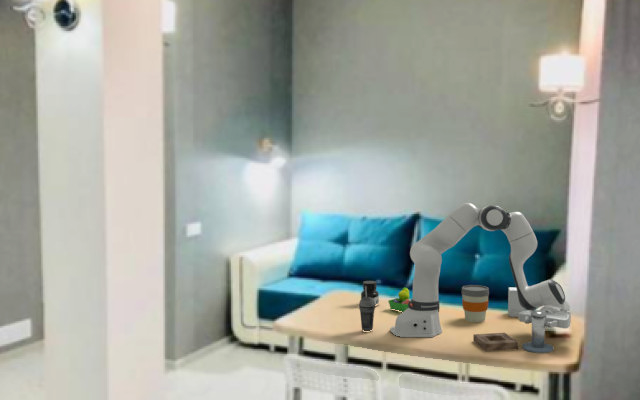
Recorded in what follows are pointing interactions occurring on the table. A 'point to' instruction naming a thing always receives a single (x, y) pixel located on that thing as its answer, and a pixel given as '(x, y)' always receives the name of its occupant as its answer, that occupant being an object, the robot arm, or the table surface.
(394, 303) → the fruit basket
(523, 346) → the slate rubber mat
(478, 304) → the reusable coffee cup
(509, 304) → the supplement box
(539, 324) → the steel plug
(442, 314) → the table surface
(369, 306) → the beverage cup
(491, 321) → the table surface
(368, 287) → the ink bottle
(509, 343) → the walnut socket block
